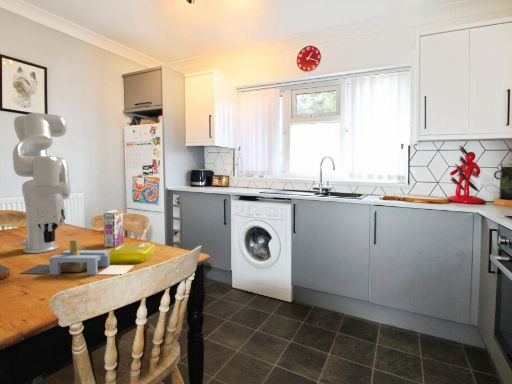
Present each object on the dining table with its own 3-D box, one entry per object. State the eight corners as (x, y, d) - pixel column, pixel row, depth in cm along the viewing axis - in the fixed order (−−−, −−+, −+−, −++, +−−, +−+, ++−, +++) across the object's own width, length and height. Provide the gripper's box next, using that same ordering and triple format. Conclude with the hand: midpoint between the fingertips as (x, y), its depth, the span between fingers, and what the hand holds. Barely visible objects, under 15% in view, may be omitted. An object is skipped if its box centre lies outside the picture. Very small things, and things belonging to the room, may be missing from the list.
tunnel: (49, 274, 100) (49, 257, 99) (67, 265, 109) (66, 249, 108) (95, 275, 100) (95, 258, 99) (109, 265, 109) (109, 250, 109)
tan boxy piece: (60, 271, 101) (59, 242, 101) (70, 266, 107) (69, 238, 106) (80, 271, 101) (79, 242, 101) (89, 266, 107) (88, 238, 106)
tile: (97, 274, 100) (97, 273, 100) (110, 266, 109) (110, 265, 109) (123, 275, 100) (123, 274, 100) (134, 266, 109) (134, 265, 109)
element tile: (121, 252, 127) (121, 242, 127) (156, 252, 128) (155, 242, 128) (106, 264, 112) (105, 252, 112) (145, 263, 113) (144, 251, 113)
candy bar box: (115, 247, 134) (114, 212, 132) (104, 247, 133) (102, 212, 132) (124, 241, 145) (123, 209, 144) (113, 241, 145) (112, 209, 143)
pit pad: (20, 273, 100) (20, 273, 100) (39, 265, 109) (39, 264, 109) (46, 274, 100) (45, 273, 100) (63, 265, 109) (63, 264, 109)
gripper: (17, 191, 98) (20, 244, 99) (61, 191, 98) (63, 244, 99) (34, 190, 106) (36, 239, 107) (74, 190, 106) (77, 239, 107)
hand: (49, 241), depth 103 cm, fingers closed
